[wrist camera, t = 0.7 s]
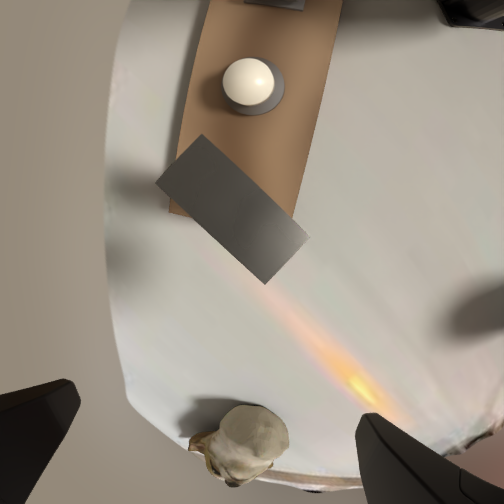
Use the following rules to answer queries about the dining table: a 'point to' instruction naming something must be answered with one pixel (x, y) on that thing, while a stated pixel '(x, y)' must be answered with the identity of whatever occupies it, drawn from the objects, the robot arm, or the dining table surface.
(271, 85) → the push button
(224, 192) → the tan capped bar
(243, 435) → the ceramic sculpture
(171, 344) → the dining table surface
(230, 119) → the switch panel
